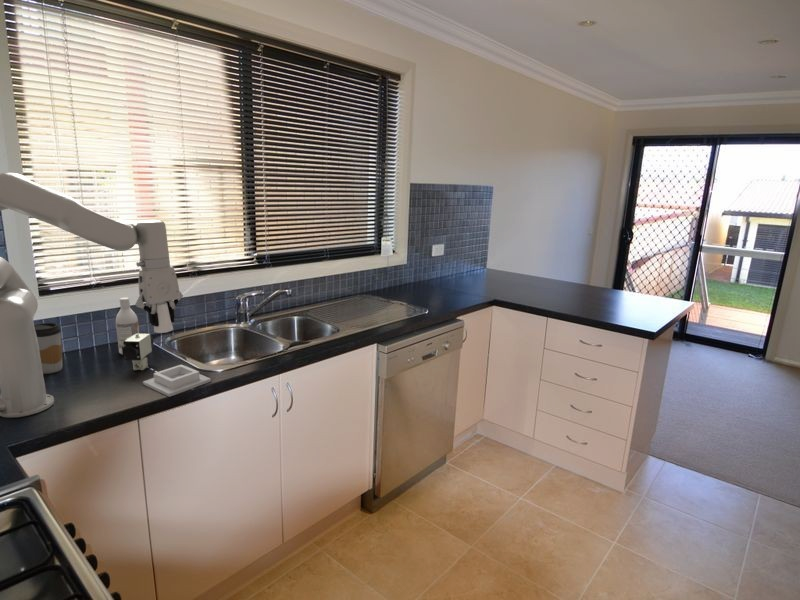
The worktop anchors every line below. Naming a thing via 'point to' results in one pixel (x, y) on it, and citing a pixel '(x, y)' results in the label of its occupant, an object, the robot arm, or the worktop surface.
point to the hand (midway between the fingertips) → (162, 322)
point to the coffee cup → (49, 346)
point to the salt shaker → (163, 318)
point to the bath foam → (125, 322)
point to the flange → (176, 380)
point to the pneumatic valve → (138, 349)
